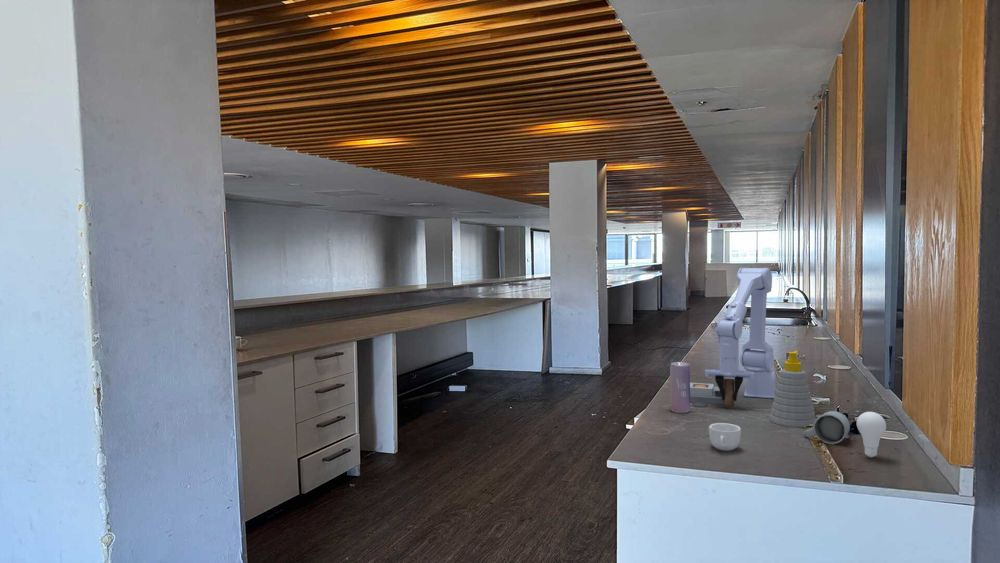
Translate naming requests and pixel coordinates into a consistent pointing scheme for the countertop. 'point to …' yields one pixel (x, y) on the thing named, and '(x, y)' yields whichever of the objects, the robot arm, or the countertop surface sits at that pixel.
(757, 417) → the countertop surface
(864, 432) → the lightbulb
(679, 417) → the countertop surface
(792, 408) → the soap bottle
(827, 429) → the ceramic mug
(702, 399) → the grey fixture with socket
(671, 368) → the beverage can
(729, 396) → the dowel
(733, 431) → the teacup
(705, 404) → the coaster
